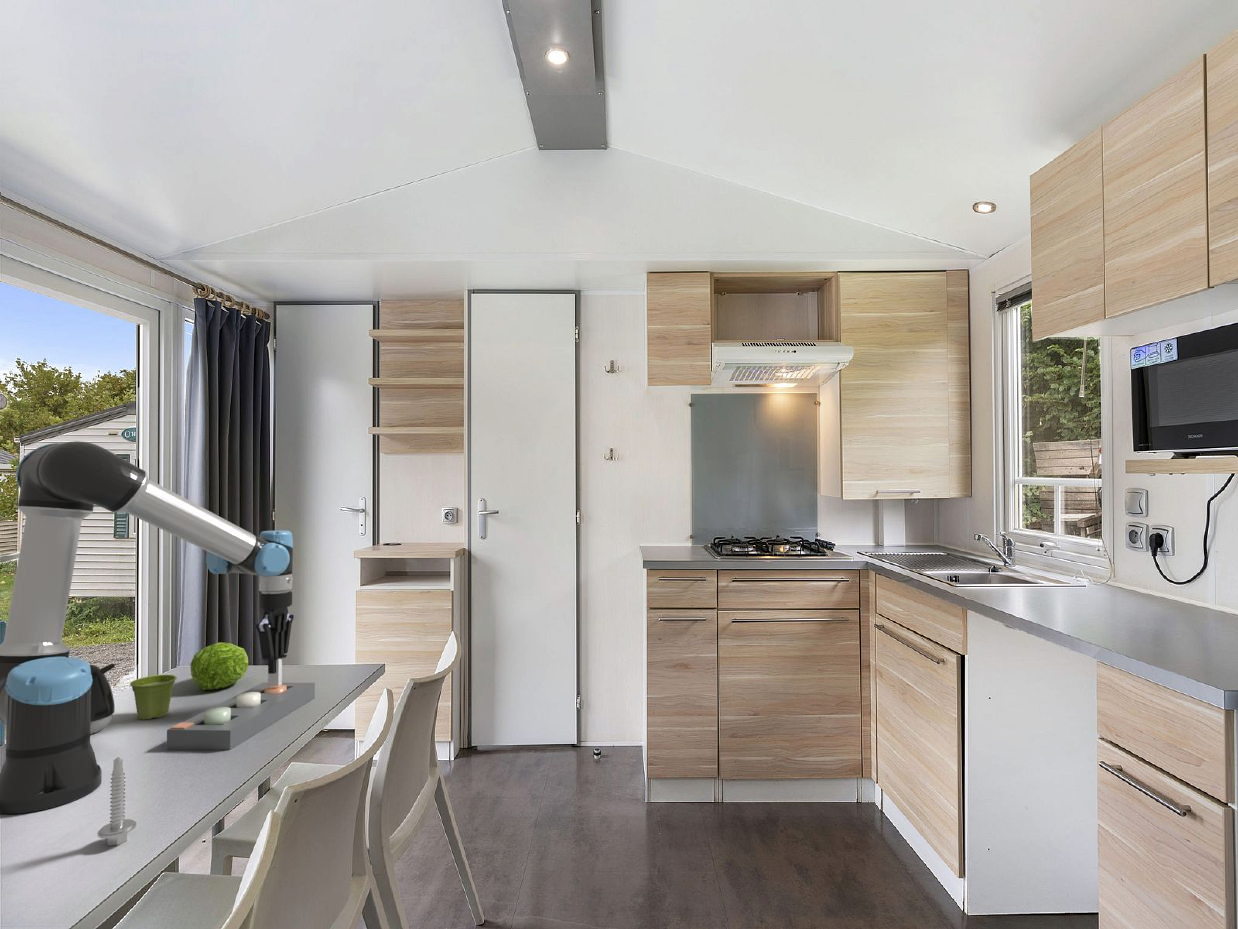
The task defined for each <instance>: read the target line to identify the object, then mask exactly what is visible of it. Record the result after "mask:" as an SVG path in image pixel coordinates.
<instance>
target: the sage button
mask: <svg viewBox="0 0 1238 929" xmlns="http://www.w3.org/2000/svg"><path fill="white" fill-rule="evenodd" d="M209 709H210V708H209ZM207 710H208V709H207ZM205 711H206V710H205ZM230 720H231V708H229V707H220V708H214V709H210V710H208V711H206V712H205V713H204V725H223V724H225V723H227V722H228V721H230Z"/></svg>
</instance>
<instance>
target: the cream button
mask: <svg viewBox="0 0 1238 929" xmlns="http://www.w3.org/2000/svg"><path fill="white" fill-rule="evenodd" d="M239 694H240V695H239ZM239 694H237V695H238V696H237V695H236V696H237V697H236V708H254V707H256V706H258V705H260V704H261V693H259V692H249V693H244V694H241V693H239Z"/></svg>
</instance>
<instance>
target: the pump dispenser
mask: <svg viewBox="0 0 1238 929" xmlns="http://www.w3.org/2000/svg"><path fill="white" fill-rule="evenodd" d="M89 665H90V668H91V675H92V685H91V720H90V735H93V733H94V734H96V733H98V732H101V731H102V730H103V729H105V728H106V727H107V726H108V725H109V723H110V722H111V720H112V719H113V715H114V713H115V709H116V708H115V700H114V699H115V698H114V695H113V691H112V687H111V685H110V681H109V679H108V678H107V676H106V673H108V672H109V671H111V670H112V669H114V668H115V666H116V664H115V663H110V664H107V665H106V666H103V667H101V668H100V667H99V666H97V665H95V664H89Z"/></svg>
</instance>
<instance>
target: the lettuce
mask: <svg viewBox="0 0 1238 929" xmlns="http://www.w3.org/2000/svg"><path fill="white" fill-rule="evenodd" d="M248 669H249V658H248V655H247V652H246V650H245V648H243V647H241V646H237V645H235V644H233V643H230V642H216V643H214V644H210V645H208V646H206V647H204V648H202V649H201V650H198V651H197V652H195V654H194V655H193V657H192V659H191V662H190V676H191V677H192V679H193V681H194V683H195V685H197V686H198V687H199V688H200V689H201V690H202V691H209V690H211V691H212V690H218V689H224V688H226V687H227V688H228V686H231V685H233V684H235V683H237V682H238V681H239V680H240V679H242V678H243V676H244V675H245V673H246V672H247V670H248Z"/></svg>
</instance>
